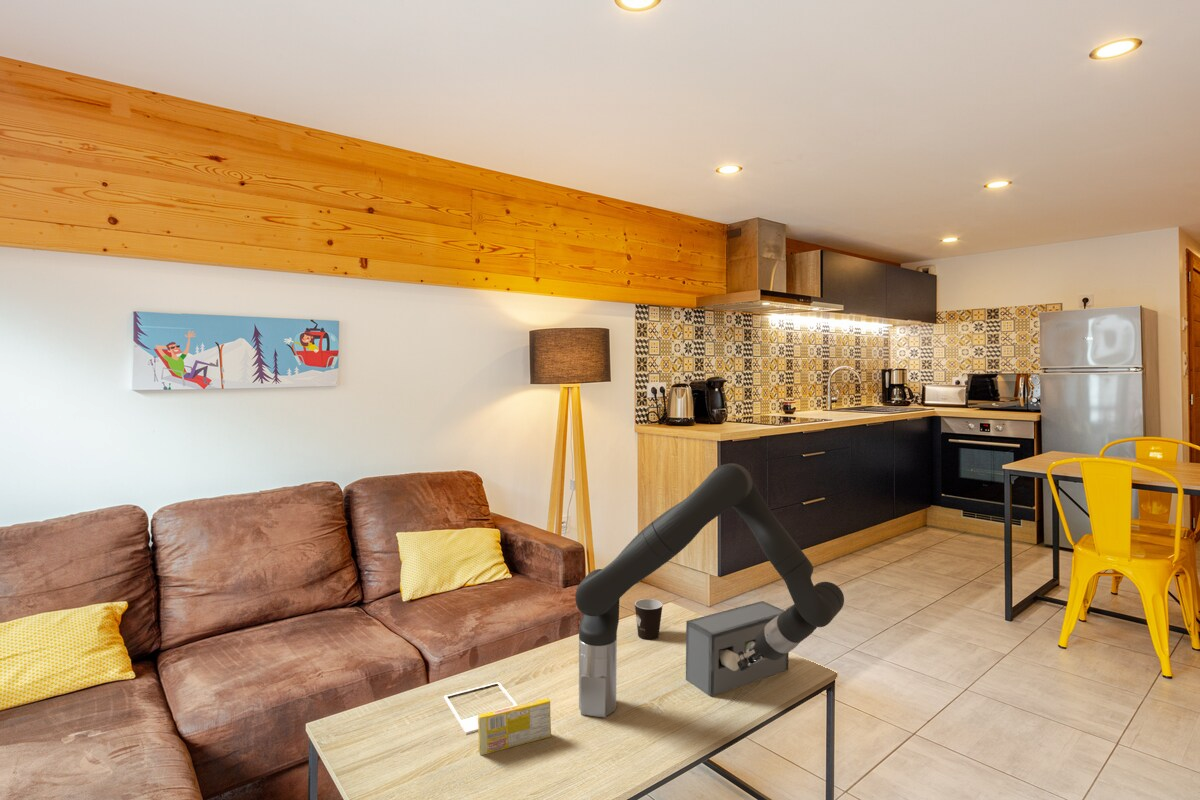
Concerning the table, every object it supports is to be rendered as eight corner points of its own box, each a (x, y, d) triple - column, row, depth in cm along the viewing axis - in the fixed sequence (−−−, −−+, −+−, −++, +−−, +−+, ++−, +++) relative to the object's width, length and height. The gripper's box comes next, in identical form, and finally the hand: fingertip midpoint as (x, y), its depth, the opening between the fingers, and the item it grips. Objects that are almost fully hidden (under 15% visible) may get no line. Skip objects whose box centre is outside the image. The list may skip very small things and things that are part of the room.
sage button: (759, 656, 165) (759, 641, 165) (748, 659, 163) (748, 644, 163) (740, 646, 171) (741, 631, 171) (729, 649, 169) (730, 635, 169)
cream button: (741, 668, 158) (741, 653, 158) (729, 672, 156) (729, 657, 156) (722, 657, 164) (722, 642, 164) (711, 661, 162) (711, 646, 162)
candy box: (548, 732, 143) (548, 697, 142) (551, 737, 141) (551, 701, 140) (477, 750, 136) (477, 713, 135) (480, 756, 134) (480, 718, 133)
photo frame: (465, 731, 141) (443, 695, 157) (465, 736, 142) (443, 699, 157) (525, 714, 149) (498, 681, 164) (525, 718, 149) (498, 685, 164)
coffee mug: (663, 641, 190) (663, 609, 189) (635, 641, 190) (635, 609, 189) (660, 625, 201) (660, 595, 201) (633, 625, 202) (633, 595, 201)
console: (788, 669, 172) (789, 612, 172) (710, 696, 158) (711, 634, 157) (761, 655, 181) (762, 601, 180) (685, 679, 167) (686, 621, 166)
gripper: (790, 615, 150) (752, 646, 161) (750, 627, 143) (713, 658, 154) (807, 645, 146) (767, 674, 157) (767, 659, 139) (728, 688, 150)
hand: (740, 666), depth 155 cm, fingers closed
